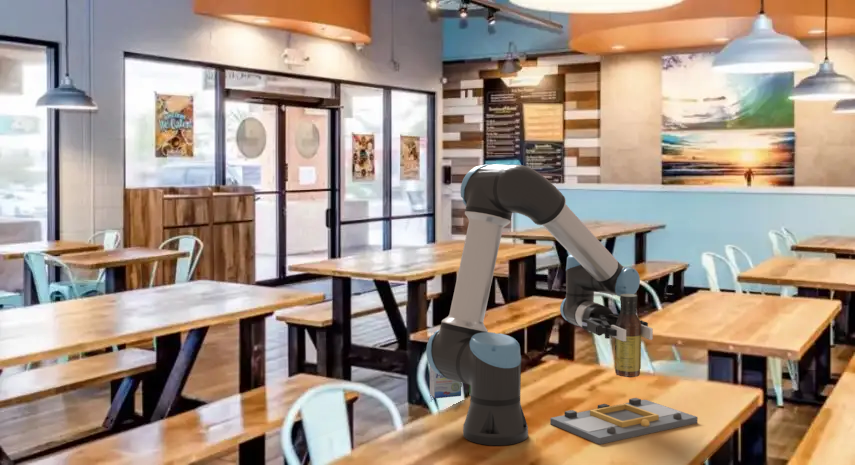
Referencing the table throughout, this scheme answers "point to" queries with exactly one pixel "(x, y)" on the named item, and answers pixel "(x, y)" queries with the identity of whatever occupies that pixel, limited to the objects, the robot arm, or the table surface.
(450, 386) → the medicine box
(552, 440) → the table surface
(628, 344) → the sauce bottle
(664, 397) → the table surface
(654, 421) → the grey fixture plate
